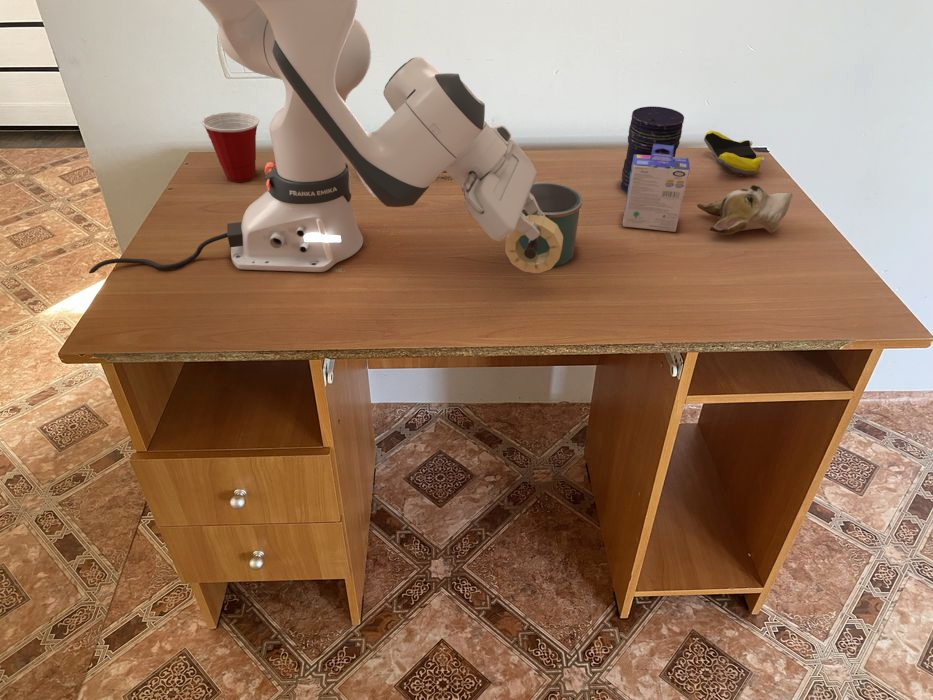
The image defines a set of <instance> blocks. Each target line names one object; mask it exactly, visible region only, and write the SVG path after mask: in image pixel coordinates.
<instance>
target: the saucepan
mask: <svg viewBox="0 0 933 700" xmlns="http://www.w3.org/2000/svg"><path fill="white" fill-rule="evenodd" d="M530 193H531V194H532V195H533V196H534V198H535V200H536V202H537V204H538V206H539V209H540V210H541V211H542V212H543V213H544V214H545V217H547V218H548V219H550V220H551V221H553V222H554V223H556V224H557V225H558V227H559V229H560V231H561V233H562V235H563V245H562V251H561V255H560V258H559V260H558V261H557V262H556V264H555V265H554V266H553V267H559V266H561V265H564V264H567V263H568V262H569V261H571V260H572V258H573V257H574V254H575V249H576V240H577V233H578V224H579V217H580V210H581V208H582V206H583V197H582V195H581V193H579V192H578V191H577V190H575V188H572V187H570V186H568V185H564V184H560V183H555V182H534V183H533V185H532V188H531V190H530ZM522 213H523V214H524V215H525V216H528V213H527V212H526V210H525V209H524V208H523V210H522ZM519 243H520V245H521V246H522V248H523V249H524V250H525V251H524V255H525V256H526V257H527V258H529V259H533V258H534V257H535V256H536V255H540V254H543V253H546V252H547V251H548V250H549V249H550V246H549V245H548V243H547V241H546V239H544V238H543V237H541V236H540V235H539V236H538V237H537V238H536V239H534V240H530V239H529V238H528V237H527V236H526V235H523V236H521V237H520V238H519Z"/></svg>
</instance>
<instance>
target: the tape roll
mask: <svg viewBox="0 0 933 700" xmlns="http://www.w3.org/2000/svg"><path fill="white" fill-rule="evenodd" d="M525 219H527V220H528V221H530V222H531V223H534V222H535V223H536V224H537V226H538V227H539V228H540V230H541V231H540V234H539V235H540V236H541V237H543V238H544V239H546V241H547V243H548V245H549V246H550V249H549V250H548V251H547V252H546V253H543V254H540V255H536V256H535V257H534V258H533V259H529V258H527V257H526V256H525V255H524V251H525V250H524V249H523V248H522V246H521V245H520V243H519V238H520V237H521V236H523V235H525V234H524V233H522V232H520V231H518V230H514V231H513V232H512V233H510V234H509V235H508V236H507V237H505V246H504V247H505V249H504V252H505V254H506V256H507V258H508V260H509V262H510V264H512V265H513V266H514V267H516V268H517V269H519V270H521V271H522V272H525V273H530V274H531V273H532V274H540V273H541V274H542V273H544V272H547V271H550V270H551V269H552V268H553V267H555V266H554V265H555V264H556V262H557V261H558V260H559V258H560V255H561V251H562V245H563V235H562V233H561V231H560V229H559V227H558V225H557V224H556V223H554V222H553V221H551V220H550V219H548V218H547V217H545V216H538V215H528V216H526V218H525Z"/></svg>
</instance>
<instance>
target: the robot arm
mask: <svg viewBox="0 0 933 700" xmlns="http://www.w3.org/2000/svg"><path fill="white" fill-rule="evenodd" d="M198 1H199V2H200V4H202V5H203V7H205V8H206V9H207V11H208V13H210V15H211V16H212V17H213V19H214V21H215V22H216V23H217V33H218V34H217V36H218V39H219V43H220V45H221V47H222V49H223V51H224V52H225V54H226V55H227V56H228V57H229V58H230V59H232V60H233V61H235V62H236V63H237V64H239V65H241V66H243V67H244V68H246V69H248V70H249V71H251V72H254V73H255V74H258V75H261V76H266V77H270V78H274V79H276V80H280V81H282V82H283V84H284V85H283V86H284V87H285V100H284V106H283V107H281V108H280V109H279V110H278V111H277V112H276V113H274V115H273V116H272V118H271V120H270V122H269V123H270V124H269V133H270V134H269V135H270V140H271V145H272V150H273V156H274V157H273V158H274V161H269V162H266V164H265V165H264V174H265V186H266V189H267V191H265V192H264V193H262V194H261V195H260V196H259V197H257V199H256V200H254V201H253V202H251V204H250V205H248V207H247V208H246V210H245V212H244V214H243V216H242V220H241V221H238V222H230V223H227V225H226V227H227V228H226V231H227V232H224V233H221V234H218V235H216V236H215V235H214V236H213V237H210V238H208V239H206V240H204V241H203V242H201V243H200V244H199V246H197V247H196V250H195V252H194V253H193V254H191V255H190V256H189V257H187V258H185V259H183V260H181V261H179V262H175V263H169V264H160V263H157V262H155V261H153V260H150V259H146V258H121V257H120V258H117V257H116V258H108V259H105V260H102V261H100V262H98V263H96V264H95V265H93V267H91V268H90V270H89V271H88V274H94V273H96V272H97V271H98V270H99V269H101V268H102V267H104V266H107V265H111V264H145V265H149V266H151V267H153V268H156V269H158V270H172V269H177V268H180V267H184V266H186V265H187V264H189V263H191V262H192V261H194V260H195V259H197V258H198V257H199V256H200V254H201V253H202V251H203V249H204V248H205V247H206V246H208V245H210V244H212V243H214V242H217V241H220V240H225V239H226V238H227V240H228V244H229V248H230V257H231V262H232V264H233V266H235V267H236V268H237V269H238V270H250V271H251V270H253V271H277V272H279V271H280V272H306V273H307V272H308V273H324V272H326V271H328V270H330V269H331V268H332V267H334V265H336V264H337V263H340V262H341V261H344V260H346V259H349V258H350V257H352V256H354V255H355V254H357V253H358V252H359V251H360V250H361V248H362V247H363V245H364V237H363V234H362V232H361V231H360V228H359V225H358V222H357V219H356V215H355V212H354V208H353V204H352V195H353V194H352V193H353V191H352V190H353V189H352V179H351V172H350V168H349V165H348V162H346V159H347V160H348V161H349V163H350V165H352V168H353V169H354V171H355V172H356V174H357V176H358V178H359V180H360V181H361V183H362V185H363V186H364V187H365V189H366V190H367V191H368V193H370V195H371V196H372V197H373V198H374V199H376V200H377V201H378V202H380V203H381V204H383V205H384V206H386V207H388V208H389V207H390V208H402V207H403V208H404V207H409V206H410V207H411V206H414V205H415V204H416V203H417V202H418V201H419V199H420V198H421V197H423V196H424V194H425V192H426V191H427V190H428V189H429V188H430V185H431V184H433V182H434V181H435V180H437V178H439V177H440V176H441V175H442V174H443V173H442V172H444V171H446V172H447V173H446V174H448V175H449V177H450V178H451V179H452V180H453V181H454V182H455V184H457V185H458V186H459V187H460V188H461V191H462V192H463V196H464V201H465V202H464V203H465V207H466V209H467V210H468V212H469V214H470V215H471V217H472V218H473V219H474V220H475V222H476V223H477V224H478V226H479V227H480V228H481V229H482V230H483V232H484V234H486V235H487V236H488V237H489V238H490V240H492V241H494V242H501V241H503V240H504V239H506V238H507V236H508V235H509V234H510V233H512V232H513V231H514V230H518V231H520V232H522V233H524V234H525V235H526V236H527V237H528V238H529V239H530V240H534V239H536V238H537V237H538V236H539V234H540V231H541V230H540V228H539V227H538V226H537V224H536V223H535V222H534V223H531V222H530V221H528V220H527V219H525V218H526V216H525V215H524V214H523V213H522V210H523V208H524V209H525V210H526V212H527V213H528V215H538V216H545V214H544V213H543V212H542V211H541V210H540V209H539V206H538V204H537V202H536V200H535V198H534V196H533V195H532V194H531V193H530V190H531V188H532V185H533V183H535V180H536V178H537V176H538V172H537V170H536V167H535V165H534V163H533V162H532V161H531V159H530V158H529V157H528V156H527V155H526V153H525V152H524V151H523V149H522V148H521V147H520V145H518V144H517V142H515V141H514V140H513V139H511V138H512V133H511V132H510V131H509V129H508V128H507V127H506V125H505V126H504V125H498V126H495V127H494V126H492V127H491V126H490V125H489V123H487V122H486V121H485V117H486V114H485V113H486V105H485V103H484V101H482V100H480V99H478V98H477V96H476V95H475V94H474V93H473V92H472V90H471V89H470V88H469V87H468V86H467V85H466V84H465V82H464V81H463V80H462V79H461V76H460V74H459V73H449V72H448V73H441V71H439V70H438V69H437V68H436V67H435V66H434V65H433V64H431V63H430V62H429V61H428V60H426V59H425V58H424V57H422V56H415V57H412V58H410V59H409V60H407V61H406V62H404V63H403V64H402V65H401V66H400V67H399V68H398V69H397V70H396V71H395V72H394V73H393V74H392V75H391V77H390V78H389V79H388V81H387V82H386V83H385V86H384V89H383V94H382V95H383V97H384V100H385V101H386V103H387V104H388V106H389V107H390V108H391V109H392V111H393V114H392V115H391V116H390V117H389V118H388V119H387V120H386V121H385V122H384V123H383V124H382V125H381V126H380V127H379V128H378V129H376V130H374V131H370V132H369V131H366V129H365V128H364V126H363V125H362V123H361V122H360V121H359V120H358V118H357V117H356V116H355V114H354V112H353V111H352V110H351V108H350V107H349V106H348V105H347V101H348V98H349V96H350V94H351V93H352V91H353V90H354V89H355V88H357V87H358V86H360V84H361V83H362V82H363V81H364V80H365V78H366V77H367V74H368V72H369V69H370V66H371V62H372V55H373V54H372V53H373V52H372V44H371V40H370V36H369V34H368V31H367V29H366V28H365V26H364V25H363V24H362V23H361V22H360V21H359V20H357V19H355V18H356V15H357V11H358V8H359V1H360V0H198ZM441 173H442V174H441Z"/></svg>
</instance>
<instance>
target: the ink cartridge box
mask: <svg viewBox="0 0 933 700" xmlns="http://www.w3.org/2000/svg"><path fill="white" fill-rule="evenodd" d="M657 149H666V150H668V151H670V153H669V154H661V153H656V152H655V150H657ZM673 149H674V146H671V145H661V144H653V149H652V153H651V155H637V154H634V156H633V162H632V167H631V173H630V180H629V186H628V192H627V194H626V199H625V206H624V212H623V217H622V224H621V225H622V227H625V228H635V229H645V230H654V231H663V232H673V233H675V232H677V229H678V228H677V227H678V223H679V220H680V219H679V218H680V215H681V210H682V206H683V201H684V197H685V192H686V187H687V183H688V179H689V176H690V175H689V174H690V170H691V167H690V161H689V157H680V156H679V157H677V156H675V157H673Z"/></svg>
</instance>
